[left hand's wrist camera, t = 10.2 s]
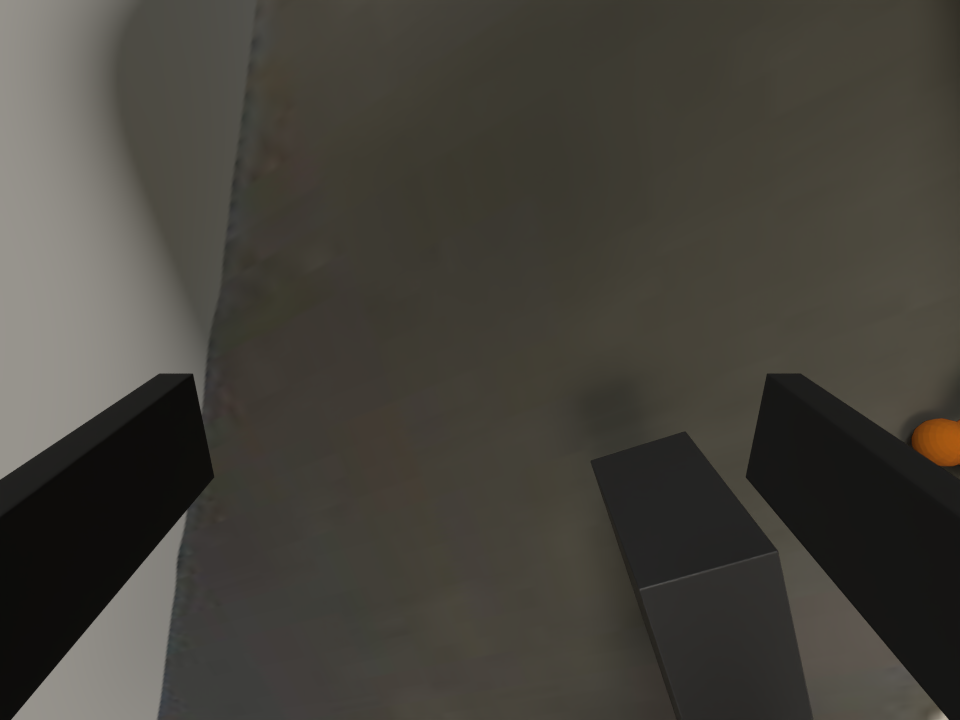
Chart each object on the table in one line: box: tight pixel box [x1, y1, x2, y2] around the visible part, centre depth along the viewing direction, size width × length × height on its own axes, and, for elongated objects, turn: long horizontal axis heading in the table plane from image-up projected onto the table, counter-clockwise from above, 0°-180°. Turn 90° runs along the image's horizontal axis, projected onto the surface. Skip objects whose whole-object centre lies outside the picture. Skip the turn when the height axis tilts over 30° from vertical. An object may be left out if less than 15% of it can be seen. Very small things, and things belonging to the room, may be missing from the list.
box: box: [591, 432, 813, 720], centre depth 33 cm, size 29×6×11 cm, turn 20°
